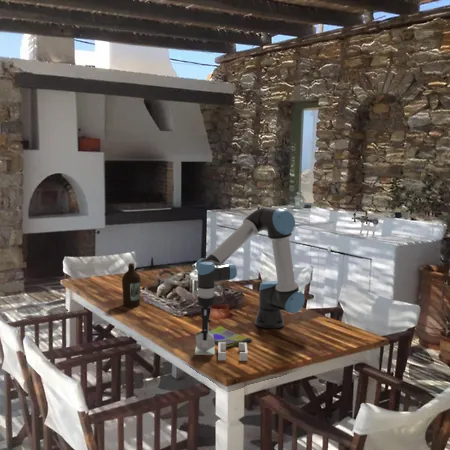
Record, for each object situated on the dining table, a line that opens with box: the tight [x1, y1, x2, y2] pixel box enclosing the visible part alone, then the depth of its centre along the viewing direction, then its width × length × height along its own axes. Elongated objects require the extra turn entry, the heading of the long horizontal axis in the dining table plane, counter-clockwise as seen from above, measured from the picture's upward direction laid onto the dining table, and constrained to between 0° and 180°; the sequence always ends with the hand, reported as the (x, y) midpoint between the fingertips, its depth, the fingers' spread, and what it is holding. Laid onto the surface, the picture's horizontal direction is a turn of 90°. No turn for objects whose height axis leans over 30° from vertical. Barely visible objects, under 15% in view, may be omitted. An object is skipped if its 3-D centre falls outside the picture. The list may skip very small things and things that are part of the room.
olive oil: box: [121, 262, 142, 308], centre depth 327 cm, size 11×11×25 cm
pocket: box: [217, 342, 249, 362], centre depth 255 cm, size 13×13×4 cm
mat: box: [194, 345, 216, 356], centre depth 259 cm, size 9×9×1 cm
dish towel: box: [195, 325, 252, 349], centre depth 277 cm, size 18×24×3 cm
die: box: [195, 332, 216, 352], centre depth 256 cm, size 8×9×10 cm
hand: (205, 341), depth 259 cm, fingers open, 13 cm apart
